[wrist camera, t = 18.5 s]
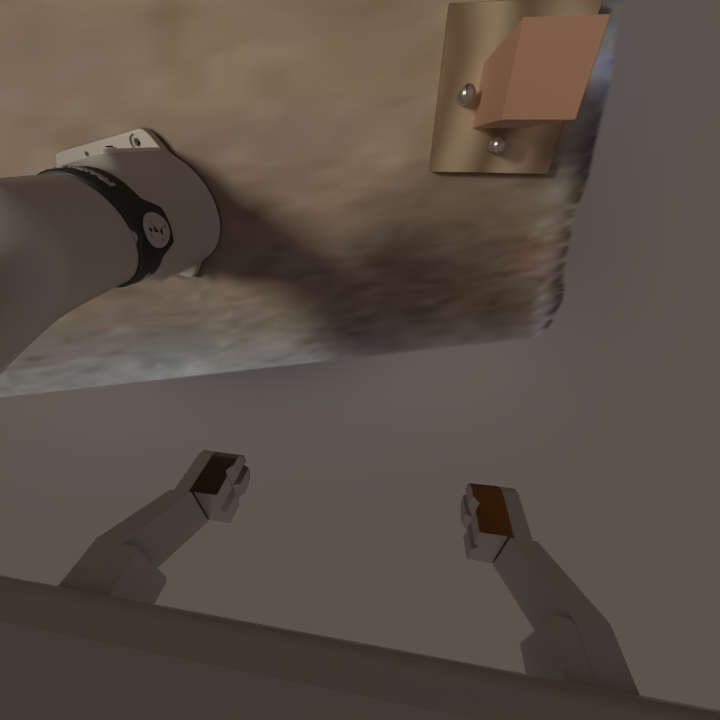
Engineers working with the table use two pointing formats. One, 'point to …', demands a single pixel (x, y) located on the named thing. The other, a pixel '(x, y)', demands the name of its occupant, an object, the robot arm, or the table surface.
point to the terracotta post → (539, 72)
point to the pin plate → (461, 86)
